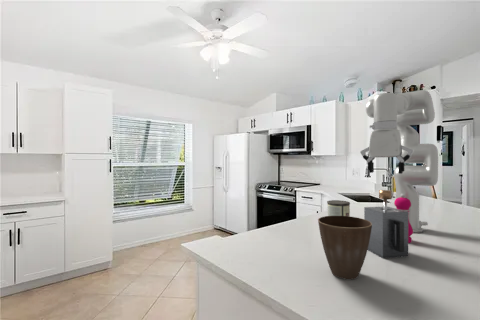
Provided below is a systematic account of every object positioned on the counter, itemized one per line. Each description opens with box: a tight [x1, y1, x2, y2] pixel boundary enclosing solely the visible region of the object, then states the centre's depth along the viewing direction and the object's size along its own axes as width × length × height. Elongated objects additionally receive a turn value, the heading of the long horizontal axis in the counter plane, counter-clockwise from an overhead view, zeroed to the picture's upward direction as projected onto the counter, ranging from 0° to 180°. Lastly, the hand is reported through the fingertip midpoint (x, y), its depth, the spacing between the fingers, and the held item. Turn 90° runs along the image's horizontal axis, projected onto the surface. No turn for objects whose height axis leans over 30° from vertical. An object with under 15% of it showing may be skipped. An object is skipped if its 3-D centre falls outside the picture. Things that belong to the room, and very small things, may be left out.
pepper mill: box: [393, 194, 414, 244], centre depth 105 cm, size 7×7×20 cm
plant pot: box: [317, 215, 372, 280], centre depth 74 cm, size 15×15×16 cm
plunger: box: [378, 189, 393, 210], centre depth 92 cm, size 7×7×17 cm
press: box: [363, 205, 409, 259], centre depth 90 cm, size 10×13×16 cm
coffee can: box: [326, 199, 351, 217], centre depth 120 cm, size 10×10×14 cm
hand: (385, 172), depth 92 cm, fingers open, 9 cm apart
